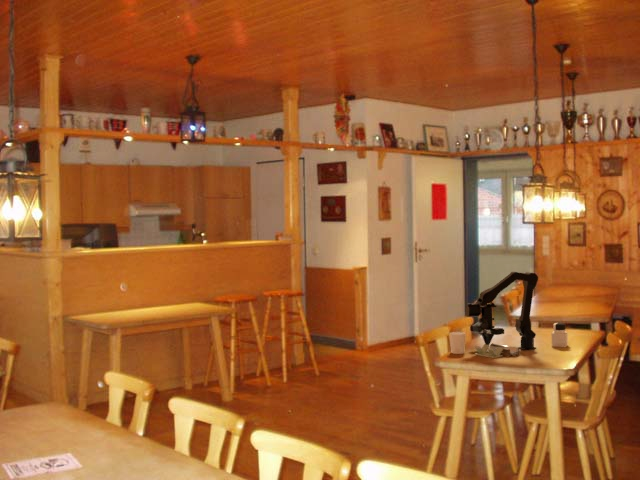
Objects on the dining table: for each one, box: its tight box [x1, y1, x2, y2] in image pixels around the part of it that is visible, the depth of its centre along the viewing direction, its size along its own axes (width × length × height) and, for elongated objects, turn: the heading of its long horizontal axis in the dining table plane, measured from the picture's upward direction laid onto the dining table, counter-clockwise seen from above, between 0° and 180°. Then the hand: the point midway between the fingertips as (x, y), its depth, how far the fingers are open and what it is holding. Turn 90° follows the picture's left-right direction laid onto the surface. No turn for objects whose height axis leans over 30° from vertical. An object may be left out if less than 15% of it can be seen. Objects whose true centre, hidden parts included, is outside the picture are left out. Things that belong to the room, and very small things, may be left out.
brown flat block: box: [500, 346, 520, 357], centre depth 379 cm, size 8×8×4 cm
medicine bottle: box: [551, 322, 568, 348], centre depth 398 cm, size 7×7×12 cm
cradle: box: [474, 343, 504, 359], centre depth 378 cm, size 8×12×4 cm, turn 34°
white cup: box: [449, 331, 466, 355], centre depth 386 cm, size 8×8×10 cm
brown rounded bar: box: [489, 342, 520, 357], centre depth 381 cm, size 15×4×4 cm, turn 34°
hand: (487, 346), depth 390 cm, fingers closed
